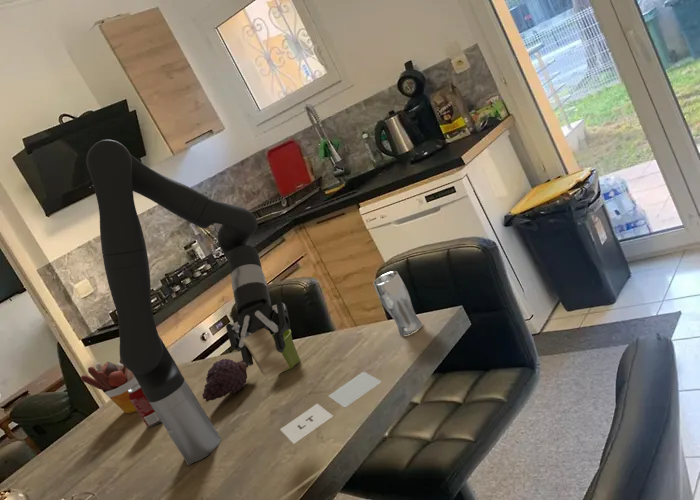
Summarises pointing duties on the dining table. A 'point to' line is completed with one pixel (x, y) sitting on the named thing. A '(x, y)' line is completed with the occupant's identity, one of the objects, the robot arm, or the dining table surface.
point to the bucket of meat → (113, 383)
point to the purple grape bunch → (224, 379)
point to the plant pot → (289, 350)
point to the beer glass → (397, 302)
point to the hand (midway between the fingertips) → (265, 357)
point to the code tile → (306, 423)
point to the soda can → (143, 406)
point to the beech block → (265, 353)
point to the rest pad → (354, 389)
